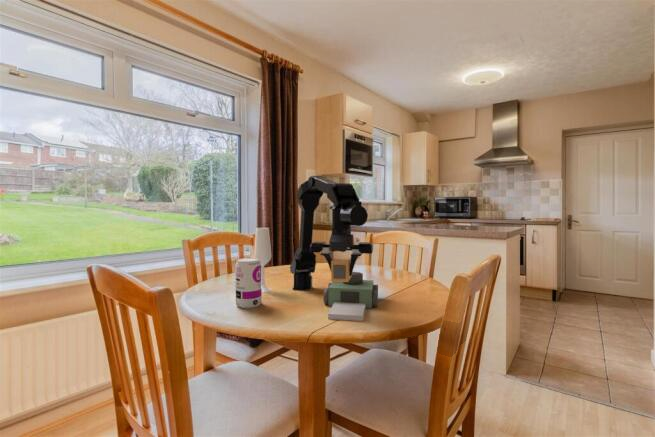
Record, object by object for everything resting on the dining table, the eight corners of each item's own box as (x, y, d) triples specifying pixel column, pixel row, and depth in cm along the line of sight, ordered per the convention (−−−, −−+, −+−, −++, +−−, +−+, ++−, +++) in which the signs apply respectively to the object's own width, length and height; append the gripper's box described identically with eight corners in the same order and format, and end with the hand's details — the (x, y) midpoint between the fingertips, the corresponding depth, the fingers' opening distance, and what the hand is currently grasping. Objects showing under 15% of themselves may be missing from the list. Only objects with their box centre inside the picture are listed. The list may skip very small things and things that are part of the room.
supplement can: (266, 302, 112) (265, 258, 111) (252, 310, 104) (252, 262, 104) (245, 300, 115) (244, 257, 114) (230, 307, 107) (230, 261, 106)
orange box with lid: (331, 281, 98) (330, 261, 98) (335, 276, 106) (335, 257, 106) (347, 282, 97) (347, 261, 97) (351, 276, 105) (351, 257, 105)
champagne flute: (273, 288, 131) (272, 227, 130) (270, 292, 124) (270, 228, 123) (255, 288, 131) (255, 227, 130) (252, 293, 124) (251, 228, 123)
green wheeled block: (315, 318, 97) (315, 287, 96) (330, 294, 121) (330, 270, 121) (375, 321, 94) (375, 290, 93) (378, 297, 118) (378, 272, 118)
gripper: (304, 225, 95) (305, 280, 95) (370, 226, 91) (370, 282, 92) (313, 223, 106) (314, 272, 106) (373, 224, 102) (373, 274, 103)
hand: (341, 275), depth 102 cm, fingers closed on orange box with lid, 5 cm apart
